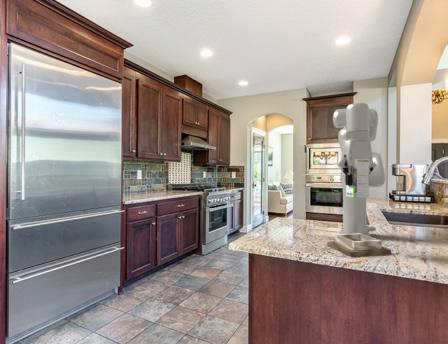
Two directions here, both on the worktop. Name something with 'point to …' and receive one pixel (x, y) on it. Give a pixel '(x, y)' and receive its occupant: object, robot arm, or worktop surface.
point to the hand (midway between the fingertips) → (357, 184)
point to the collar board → (358, 245)
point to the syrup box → (359, 179)
